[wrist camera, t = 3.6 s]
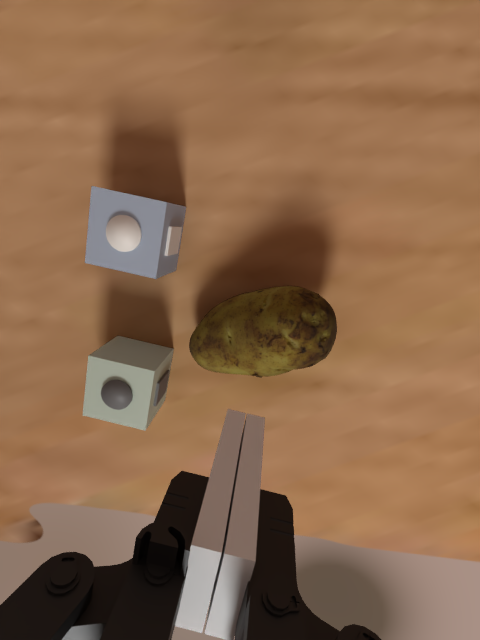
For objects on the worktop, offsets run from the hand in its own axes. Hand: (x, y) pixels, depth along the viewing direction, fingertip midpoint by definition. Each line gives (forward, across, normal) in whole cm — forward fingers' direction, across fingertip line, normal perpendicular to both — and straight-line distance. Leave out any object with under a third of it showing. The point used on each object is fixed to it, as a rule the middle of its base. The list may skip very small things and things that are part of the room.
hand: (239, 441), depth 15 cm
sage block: (+20, +11, +8) cm, 25 cm away
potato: (+21, 0, 0) cm, 21 cm away
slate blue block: (+20, +12, -6) cm, 24 cm away
